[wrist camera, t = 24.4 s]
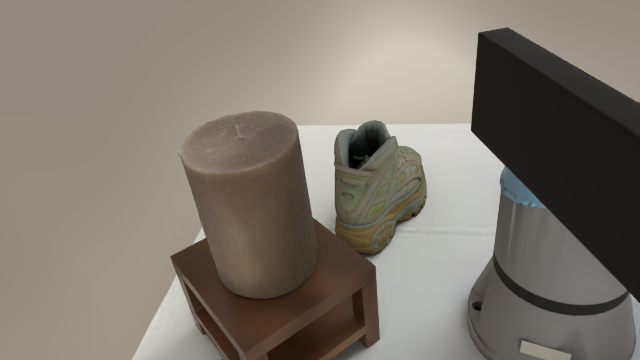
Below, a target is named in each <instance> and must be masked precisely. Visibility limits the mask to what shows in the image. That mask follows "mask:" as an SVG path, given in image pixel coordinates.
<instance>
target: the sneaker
mask: <svg viewBox="0 0 640 360" xmlns="http://www.w3.org/2000/svg"><path fill="white" fill-rule="evenodd" d="M334 154H335V162H334V165H335V209H336V214H337V216H336V226H335V232H336V236H337V237H339V238H340V239H341V240H342V241H344V242H345V243H346V244H348V245H349V246H350V247H351V248H353V249H354V250H355V251H357V252H359V253H366V254H375V253H376V252H380V251H382V250H383V249H384V248H385V245H388V243H389V242H390V239H391V238H393V236H394V233H395V225H396V222H397V221H406V220H409V219H411V216H412V213H413V214H414V215H415V216H417V214H418V213H419V212H420V208H421V207H423V206H424V204H425V198H426V188H427V187H426V180H425V175H424V171H423V167H422V161H421V156H420V155H419V154H418V153H417V152H416V151H415V150H413V149H412V148H410V147H407V146H398V144H397V139H396V137H395V136H392V137H391V136H390V134H389V132H388V130H387V128H386V126H385V124H384V123H382V122H381V121H376V120H375V121H369V122H366V123H364V124H362V125H361V126H360V127H359V128H358V130H357V131H356V130H355V129H346V130H342V131H340V132H339V134H338V135H337V137H336V140H335V144H334Z"/></svg>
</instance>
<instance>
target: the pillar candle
mask: <svg viewBox="0 0 640 360" xmlns="http://www.w3.org/2000/svg"><path fill="white" fill-rule="evenodd" d="M178 155H179V156H180V157H181V160H182V163H183V165H184V168H185V172H186V175H187V178H188V181H189V184H190V187H191V190H192V193H193V196H194V200H195V203H196V207H197V209H198V213H199V217H200V220H201V224H202V227H203V230H204V233H205V236H206V239H207V241H208V244H209V247H210V251H211V254H212V256H213V259H214V262H215V265H216V268H217V272H218V275H219V278H220V280H221V281H222V283H223V284H224V286H225V287H226V288H227V289H229V290H230V291H231V292H233V293H235V294H237V295H240V296H243V297H249V298H258V299H259V298H260V299H268V298H274V297H277V296H282V295H284V294H286V293H290V292H291V291H293V290H294V289H296V288H298V287H299V286H300V285H302V284H303V283H304V282H305V281H306V280H307V279H308V278H309V277H310V276H311V275H312V273H313V272H314V270H315V269H316V263H317V258H318V248H317V243H316V237H315V232H314V224H313V218H312V212H311V206H310V199H309V194H308V189H307V183H306V177H305V171H304V165H303V158H302V151H301V145H300V140H299V134H298V129H297V126H296V125H295V123H294V122H293V121H292V120H291V119H289V118H288V117H286V116H284V115H281V114H278V113H273V112H265V111H251V112H243V111H242V112H239V113H234V114H229V115H225V116H223V117H220V118H219V119H216V120H214V121H211V122H208V123H206V124H205V125H203V126H201V127H199V128H197V129H196V130H195V131H194V132H193V133H192V134H191V135H189V136H188V137H187V138H186V139H185V141H184V142H183V143H182V145H181V148H180V150H178Z"/></svg>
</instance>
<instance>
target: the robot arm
mask: <svg viewBox="0 0 640 360" xmlns="http://www.w3.org/2000/svg"><path fill="white" fill-rule="evenodd" d="M471 131H472V132H473V133H474V134H475V135H476V136H477V137H478V138H479V139H480V140H481V141H482V142H483V143H484V144H485V145H486V146H487V147H488V149H489V150H490V151H491V152H492V153H493V154H494V155H495V156H496V157H497V158H498V159H499V160H500V161H501V162H502V163H503V164H504V165H505V167H504V169H503V171H502V174H501V177H500V184H501V196H500V204H499V212H498V220H497V228H496V236H495V244H494V252H493V256H492V258H491V259H490V261H489V263H488V264H487V266H486V267H485V269H484V270H483V272H482V273H481V275H480V276H479V278H478V279H477V281H476V282H475V284H474V286H473V288H472V290H471V292H470V296H469V301H468V312H467V320H468V326H469V330H470V333H471V336H472V338H473V340H474V342H475V344H476V345H477V347H478V348H479V350H480V351H481V352H482V354H483V355H484V356H485V357H486V358H487V359H488V360H630V359H631V357H632V354H633V351H634V348H635V343H636V334H635V325H634V318H633V311H632V304H631V298H630V293H631V294H632V295H633V296H634V298H635V299H636V300H637V301H638V302H639V303H640V102H636V101H634V100H632V99H631V98H629V97H627V96H626V95H624V94H622V93H621V92H619V91H617V90H615V89H614V88H612V87H610V86H608V85H607V84H605V83H603V82H601V81H600V80H598V79H596V78H594V77H593V76H591V75H589V74H588V73H586V72H584V71H582V70H581V69H579V68H577V67H575V66H574V65H572V64H570V63H568V62H567V61H565V60H563V59H562V58H560V57H558V56H556V55H555V54H553V53H551V52H549V51H548V50H546V49H544V48H542V47H541V46H539V45H537V44H536V43H534V42H532V41H530V40H529V39H527V38H525V37H523V36H522V35H520V34H518V33H516V32H515V31H513V30H511V29H509V28H502V29H496V30H491V31H485V32H480V33H478V47H477V58H476V72H475V84H474V97H473V110H472V123H471Z"/></svg>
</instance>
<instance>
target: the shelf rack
mask: <svg viewBox="0 0 640 360" xmlns="http://www.w3.org/2000/svg"><path fill="white" fill-rule="evenodd" d="M312 218H313V217H312ZM313 224H314V232H315V237H316V243H317V248H318V258H317V263H316V269H315V270H314V272H313V273H312V275H311V276H310V277H309V278H308V279H307V280H306V281H305V282H304V283H303V284H302V285H300V286H299V287H298V288H296V289H294V290H293V291H291V292H290V293H286V294H284V295H282V296H277V297H274V298H268V299H260V298H259V299H258V298H249V297H243V296H240V295H237V294H235V293H233V292H231V291H230V290H229V289H227V288H226V287H225V286H224V284H223V283H222V281H221V280H220V278H219V275H218V272H217V268H216V265H215V262H214V259H213V256H212V254H211V251H210V247H209V244H208V241H207V239H206V238H205V239H203V240H201V241H199V242H197V243H195V244H193V245H191V246H189V247H187V248H186V249H184V250H182V251H180V252H178V253H176V254H174V255H172V256H171V260H172V263H173V265H174V268H175V270H176V273H177V276H178V278H179V281H180V283H181V286H182V289H183V291H184V294H185V297H186V299H187V302H188V304H189V307H190V310H191V312H192V315H193V317H194V320H195V323H196V325H197V326H198V328H199V329H200V331H201V332H202V334H205V333H206V332H207V334H208V335H209V337H210V338H211V339H212V341H213V342H214V343H215V345H216V346H217V348H218V349H219V350H220V352H221V353H222V355H223V356H224V357H225V359H226V360H330V359H332V358H333V357H335V356H336V355H337V354H339V353H340V352H341V351H343V350H344V349H345V348H347V347H348V346H349V345H351V344H352V343H354V342H355V341H356V340H359V341H360V342H361V343H362V344H363V345H364V346H365V347H366V348H368V347H369V346H371V345H372V344H373V343H375V342H376V341H377V340H379V339H380V335H379V317H378V301H377V284H376V267H375V265H373V264H372V263H371V262H369V261H368V260H367V259H366V258H364V257H363V256H362V255H360V254H359V253H358V252H357V251H355V250H354V249H353V248H351V247H350V246H349V245H348V244H346V243H345V242H344V241H342V240H341V239H340V238H339V237H337V236H336V235H335V234H333V233H332V232H331V231H329V230H328V229H327V228H326V227H324V226H323V225H322V224H320V223H319V222H318V221H317V220H315V219H314V218H313Z"/></svg>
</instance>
